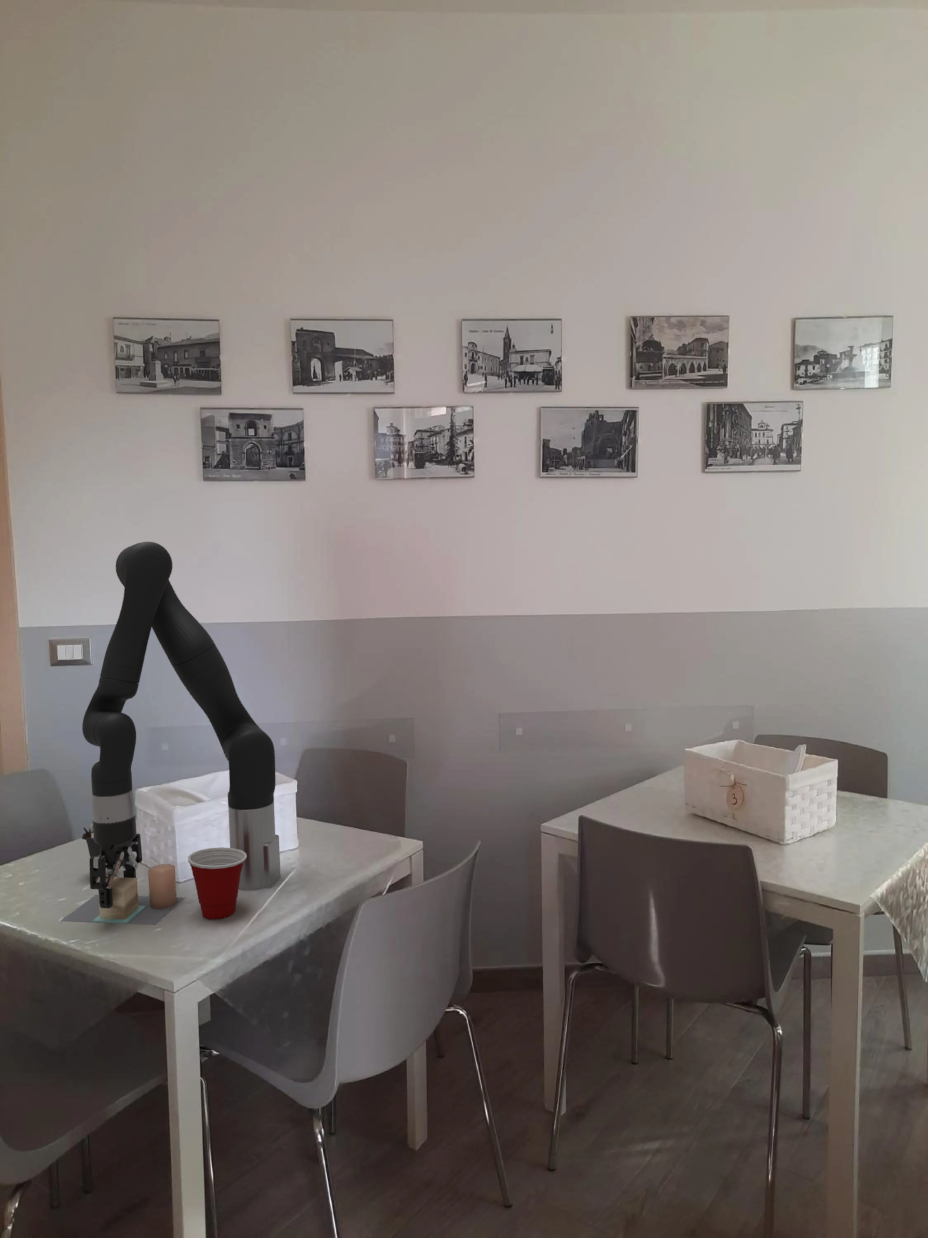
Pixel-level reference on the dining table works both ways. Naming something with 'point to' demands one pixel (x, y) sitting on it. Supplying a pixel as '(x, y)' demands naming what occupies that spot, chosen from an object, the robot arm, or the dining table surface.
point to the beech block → (121, 899)
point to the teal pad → (121, 919)
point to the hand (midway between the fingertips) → (118, 898)
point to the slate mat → (147, 916)
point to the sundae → (91, 843)
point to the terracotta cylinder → (162, 886)
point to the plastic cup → (217, 880)
